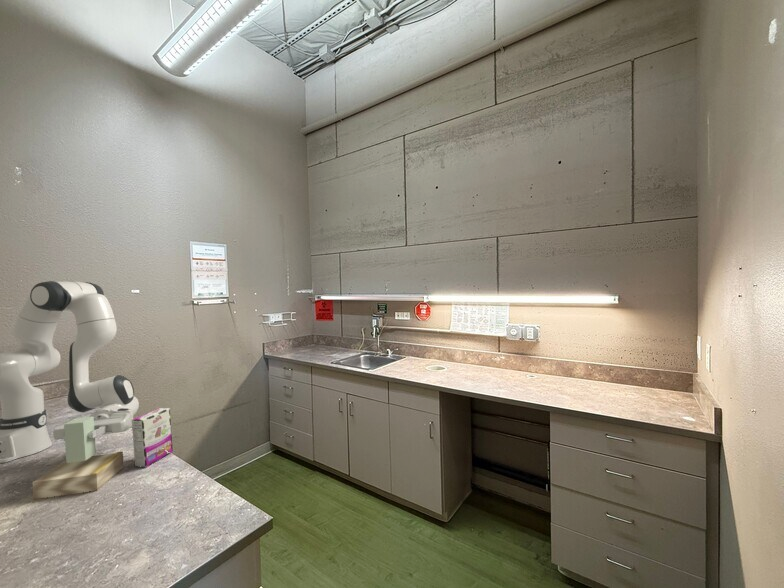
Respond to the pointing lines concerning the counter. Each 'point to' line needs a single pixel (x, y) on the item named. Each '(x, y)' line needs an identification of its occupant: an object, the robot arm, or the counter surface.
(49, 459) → the counter surface
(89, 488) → the dock
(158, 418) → the candy bar box
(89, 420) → the pale green block
